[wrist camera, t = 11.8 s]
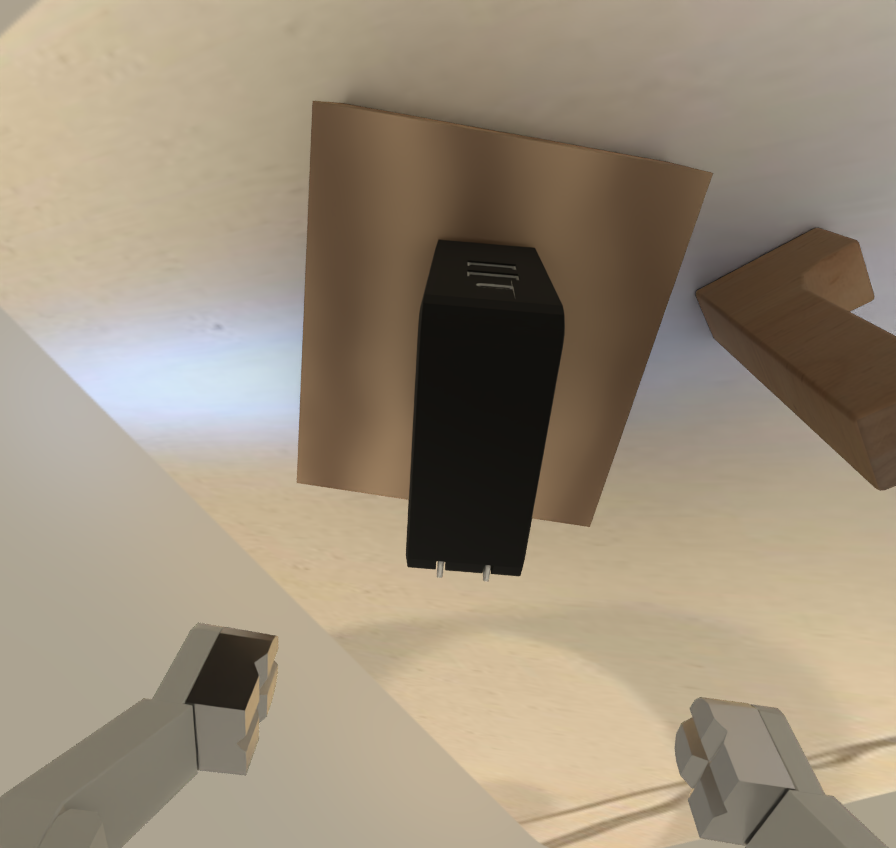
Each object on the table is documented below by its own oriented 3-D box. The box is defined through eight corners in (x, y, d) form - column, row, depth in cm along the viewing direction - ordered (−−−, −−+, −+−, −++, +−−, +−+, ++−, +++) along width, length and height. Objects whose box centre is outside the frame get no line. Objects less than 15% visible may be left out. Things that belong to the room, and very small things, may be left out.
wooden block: (713, 340, 33) (879, 495, 19) (692, 291, 31) (854, 420, 18) (834, 279, 31) (1107, 405, 18) (817, 225, 30) (1097, 315, 16)
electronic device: (535, 243, 25) (571, 316, 16) (506, 445, 29) (521, 588, 21) (436, 234, 25) (418, 303, 16) (423, 438, 29) (403, 578, 20)
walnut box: (667, 161, 28) (712, 173, 23) (572, 467, 37) (589, 526, 32) (342, 103, 28) (312, 100, 22) (322, 428, 36) (296, 482, 31)
